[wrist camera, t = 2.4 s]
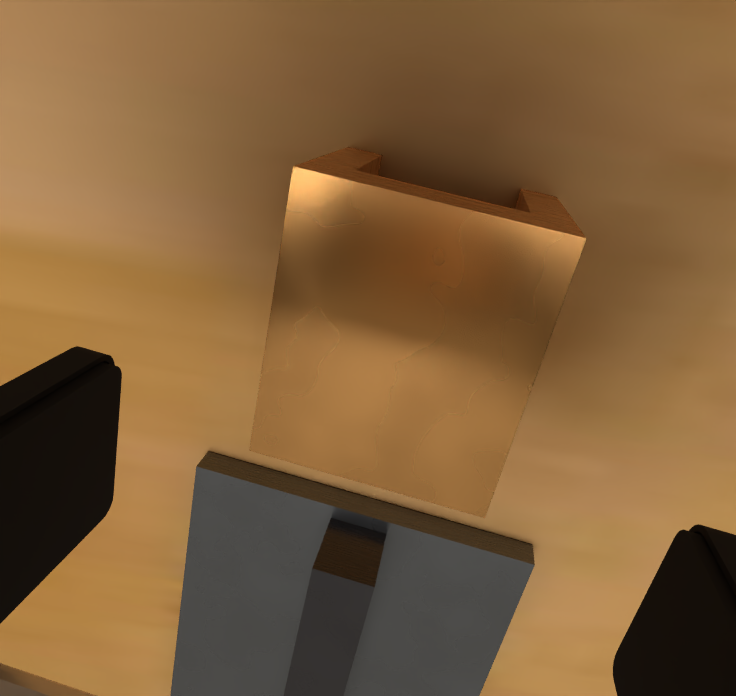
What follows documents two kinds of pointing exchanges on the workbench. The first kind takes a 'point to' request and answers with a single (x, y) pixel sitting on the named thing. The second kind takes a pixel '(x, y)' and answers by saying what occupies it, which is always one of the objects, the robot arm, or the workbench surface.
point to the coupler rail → (274, 578)
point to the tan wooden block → (407, 329)
